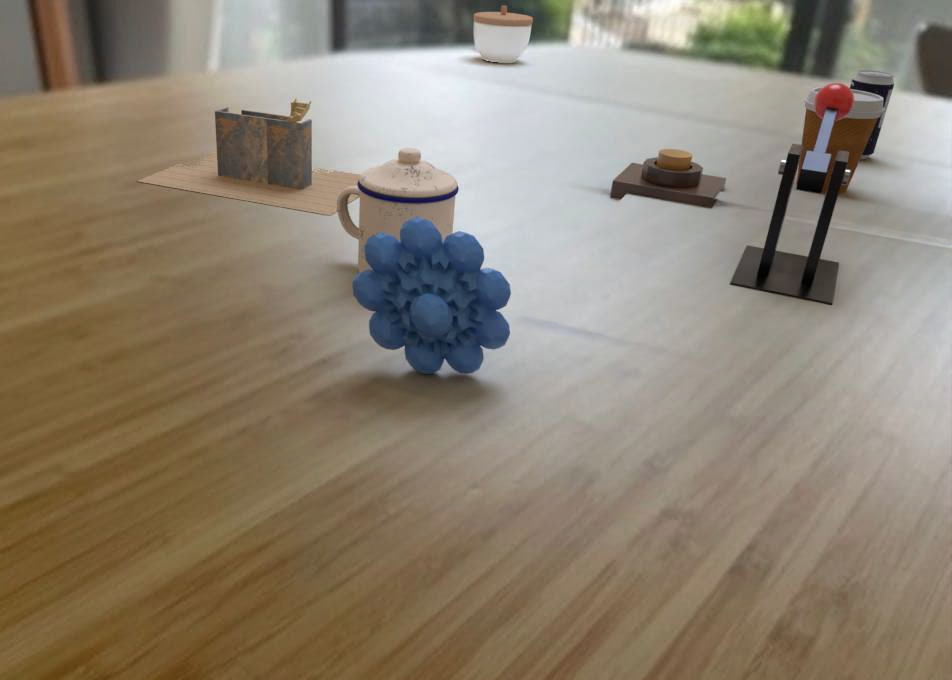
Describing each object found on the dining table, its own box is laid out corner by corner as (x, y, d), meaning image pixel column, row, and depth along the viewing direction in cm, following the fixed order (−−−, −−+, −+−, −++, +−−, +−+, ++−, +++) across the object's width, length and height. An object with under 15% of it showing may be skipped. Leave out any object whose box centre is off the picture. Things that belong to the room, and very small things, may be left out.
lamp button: (692, 166, 112) (695, 152, 111) (686, 173, 108) (689, 159, 107) (659, 161, 113) (662, 147, 112) (653, 168, 110) (655, 153, 109)
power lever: (813, 104, 92) (821, 73, 89) (851, 109, 90) (861, 77, 88) (786, 193, 84) (794, 162, 82) (827, 200, 83) (836, 168, 80)
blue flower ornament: (342, 394, 65) (345, 233, 59) (354, 352, 70) (358, 202, 65) (505, 407, 64) (524, 247, 58) (504, 364, 70) (521, 214, 64)
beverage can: (843, 149, 140) (866, 68, 134) (878, 157, 136) (904, 74, 131) (824, 153, 137) (847, 70, 131) (860, 162, 133) (885, 77, 127)
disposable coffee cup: (784, 191, 117) (808, 96, 111) (782, 173, 125) (805, 83, 119) (862, 202, 115) (892, 105, 109) (856, 183, 123) (883, 91, 117)
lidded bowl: (499, 54, 204) (504, 1, 199) (540, 63, 196) (546, 8, 191) (458, 57, 197) (462, 3, 192) (499, 67, 189) (504, 10, 183)
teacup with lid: (468, 270, 87) (479, 148, 81) (421, 300, 80) (429, 170, 74) (363, 243, 92) (366, 127, 86) (310, 269, 85) (310, 145, 79)
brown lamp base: (722, 195, 114) (729, 163, 112) (709, 216, 106) (717, 182, 104) (628, 179, 118) (634, 148, 117) (609, 198, 110) (615, 165, 109)
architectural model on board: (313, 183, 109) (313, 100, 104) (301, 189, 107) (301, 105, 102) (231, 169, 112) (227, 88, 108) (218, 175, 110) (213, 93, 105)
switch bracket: (744, 255, 95) (774, 132, 89) (835, 273, 92) (873, 146, 85) (727, 294, 85) (759, 158, 79) (828, 315, 82) (871, 175, 76)
